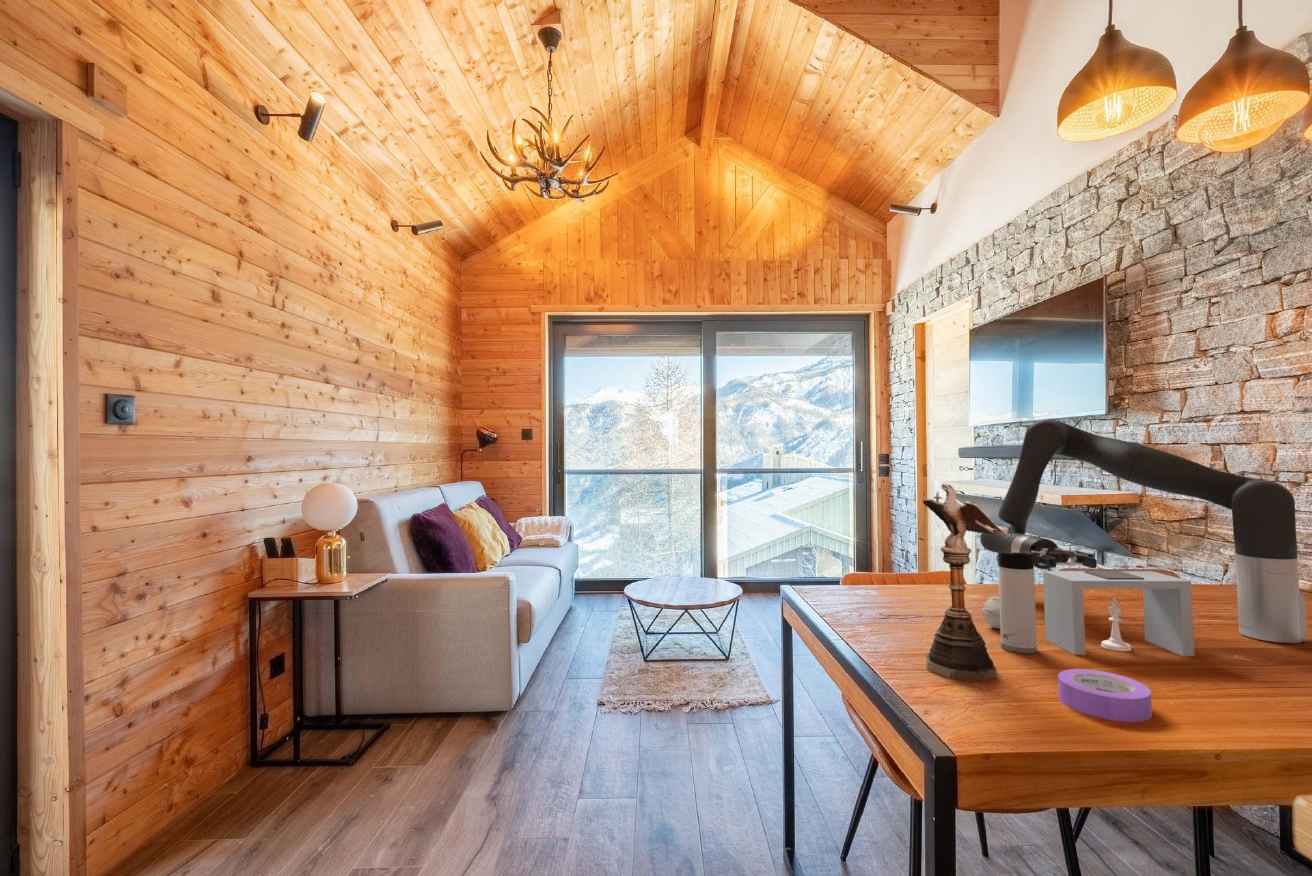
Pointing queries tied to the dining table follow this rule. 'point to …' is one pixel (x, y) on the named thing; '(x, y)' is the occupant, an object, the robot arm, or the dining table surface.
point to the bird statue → (960, 595)
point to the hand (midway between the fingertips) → (1074, 563)
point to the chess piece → (1115, 631)
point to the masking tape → (1105, 695)
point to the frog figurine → (992, 612)
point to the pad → (1113, 575)
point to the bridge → (1161, 593)
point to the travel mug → (1017, 602)
